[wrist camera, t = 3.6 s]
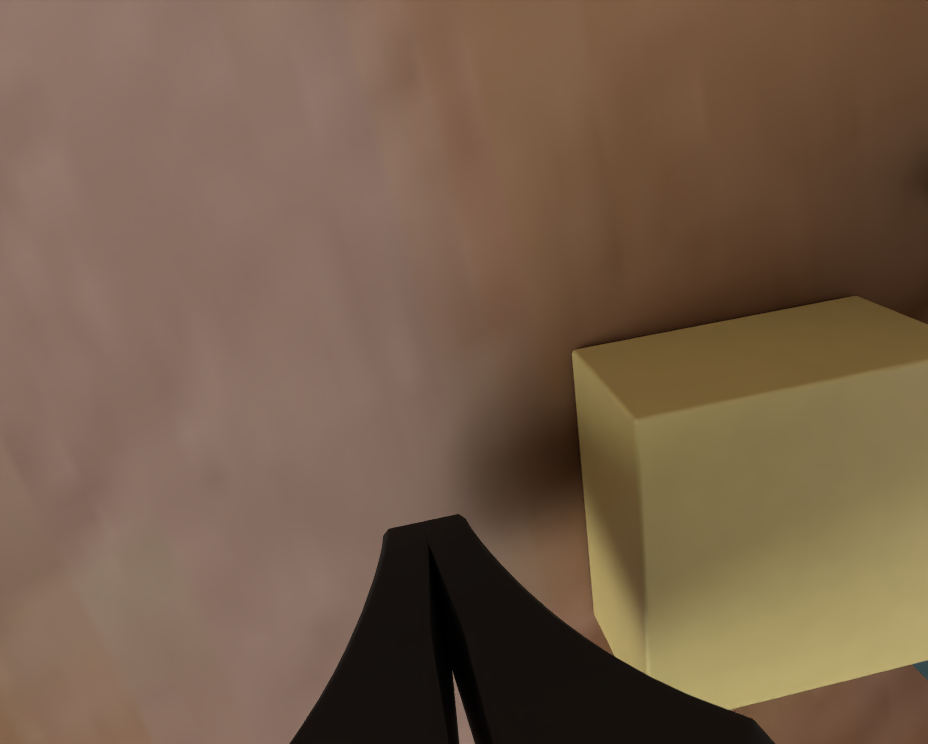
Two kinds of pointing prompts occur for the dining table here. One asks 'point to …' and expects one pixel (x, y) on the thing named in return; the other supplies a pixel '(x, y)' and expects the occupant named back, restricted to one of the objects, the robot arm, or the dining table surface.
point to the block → (760, 498)
